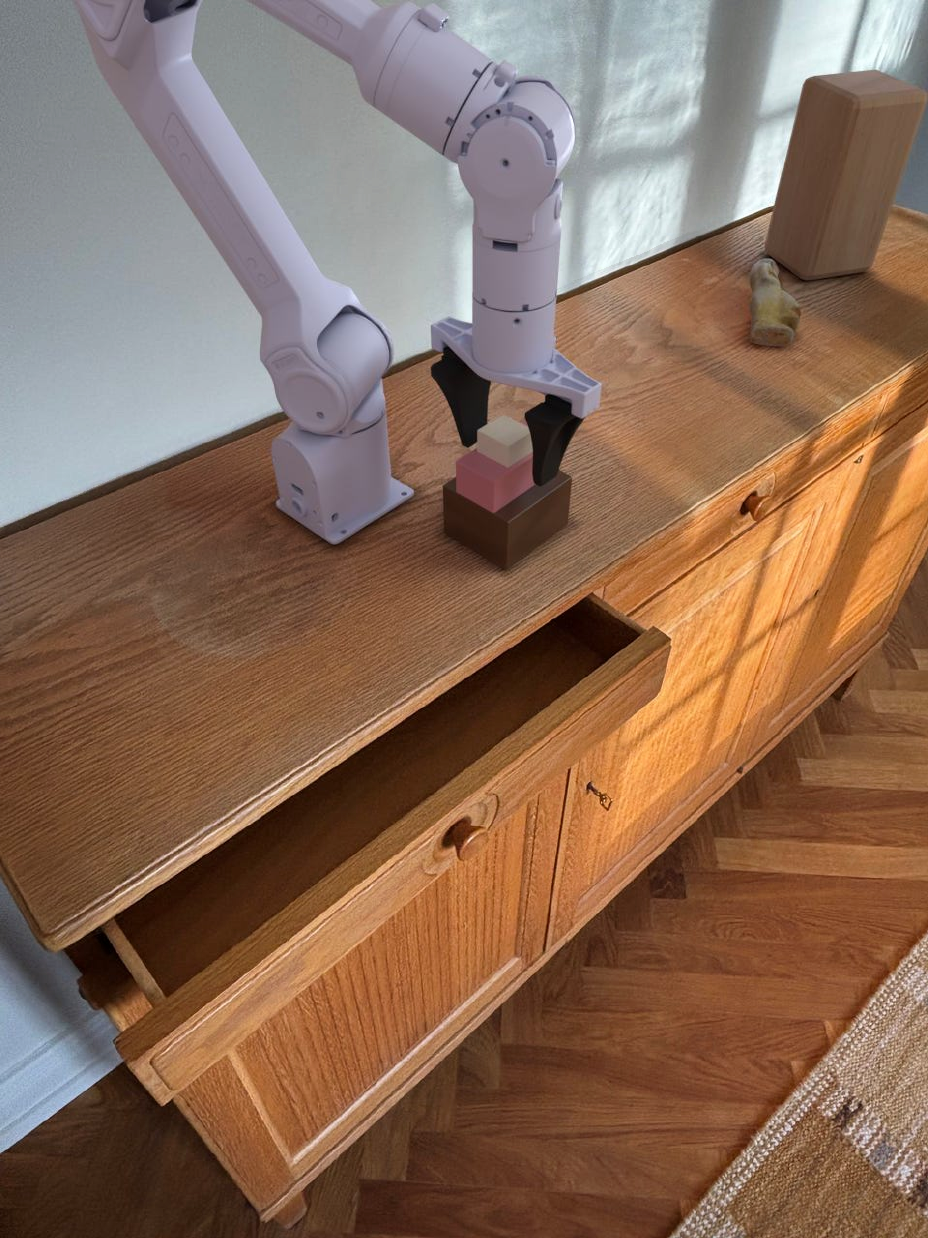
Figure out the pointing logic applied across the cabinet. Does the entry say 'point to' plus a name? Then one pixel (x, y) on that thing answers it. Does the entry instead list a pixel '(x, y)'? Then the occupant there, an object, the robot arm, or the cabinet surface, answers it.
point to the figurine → (771, 307)
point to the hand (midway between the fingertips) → (508, 459)
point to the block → (842, 171)
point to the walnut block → (508, 520)
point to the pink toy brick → (497, 464)
